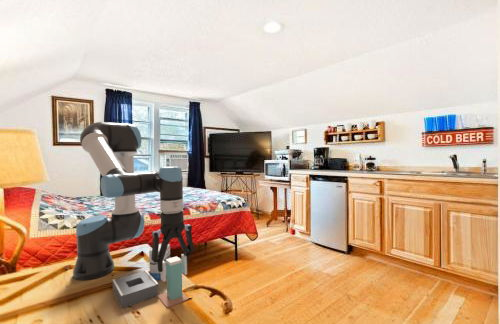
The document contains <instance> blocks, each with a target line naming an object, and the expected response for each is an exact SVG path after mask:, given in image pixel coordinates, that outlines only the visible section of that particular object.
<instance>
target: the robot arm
mask: <svg viewBox="0 0 500 324" xmlns="http://www.w3.org/2000/svg"><path fill="white" fill-rule="evenodd" d="M79 141H80V145H81V147H82V149H83V151H84V152H86V153H88V154H89V156H90V157H91V159H92V161H93V163H94V164H95V166H96V167H97V169H98V171H99V172H100V175H101V176H102V177H101V179H100V183H99V184H100V185H99V186H100V190H101V194H102V196H103V197H105V198H114V209H113V210H112V211H111V216H110V217H108V215H107V214H100V215H94V216H93V215H92V216H90V217H86V218H84V219H82V220H80V221H79V222H78V223H77V224H76V230H75V231H76V232H75V236H76V252H77V254H76V255H77V257H76V260H75V265H74V267H73V270H72V275H73V279H75V280H77V281H79V280H80V281H85V280H87V281H88V280H93V279H98V278H101V277H104V276H106V275H108V274H110V273H111V272H113V270H114V269H115V262H114V260H113V257H112V255H111V253H110V247H109V246H110V245H113V244H117V243H120V242H124V241H128V240H133V239H136V238H139V237H141V235H142V234H143V233H144V229H145V224H146V223H145V216H144V214H143V213H142V212H141V211H140V209H139V208H138V207H137V206H136V195H144V194H149V193H150V194H151V193H159V197H160V198H159V199H160V200H159V201H160V203H159V206H160V227H159V229H157V230H156V231H155V230H152V231H151V235H152V246H151V249H152V258H151V259H152V261H153V262H155V263H156V262H157V264H158V271H159V272H161V280H160V281H162V282H164V283H165V282H167V278H166V271H165V262H164V261H163V259H164V256H165V253H166V249H167V246H168V244H169V243H170V242H171V240H172V239H177V241H178V243H179V245H180V247H181V250H182V252H183V253H181V256H180V258H181V260H182V275H183V274H184V276H185V275H188V265H189V263H190V256H191V253H194V251H195V250H194V242H193V236H192V235H193V234H192V230H193V225H191V224H189V223H187V224H185V223H184V221H185V220H184V217H185V216H184V211H183V210H184V190H183V187H184V185H183V177H184V176H183V169H182V168H181V167H180V166H176V165H175V166H172V165H171V166H162V167H160V168H159V169H158V170H151V171H146V172H145V171H144V172H135V161H134V159H135V155H136V154H137V152H138V149H140V148H141V146H142V145H141V144H142V136H141V132H140V129H139V128H138V126H137V125H135V124H131V123H123V122H121V123H120V122H107V121H105V122H104V121H99V122H94V123H90V124H89V125H87V126H86V127H85V128H84V129H83V130H82V132H81V133H80V136H79ZM183 231H185V237H186V238H185V239H186V241H185V239H184V237H183V233H182V232H183ZM161 234H162V235H163V236H162V241H161V243H160V236H161ZM159 244H161V247H160V251H159V254H158V248H159Z"/></svg>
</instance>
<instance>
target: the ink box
mask: <svg viewBox="0 0 500 324" xmlns="http://www.w3.org/2000/svg"><path fill="white" fill-rule="evenodd" d="M161 244H162V243H159V248H158V254H159V251H160V247H161ZM148 254H149V257H148V258H149V260H148V261H149V274H150V275H151V276H152V277H153V278H154V279H155V280H156V281H162V280H161V272H159V271H158V264H157V262H156V263H155V262H153V261H152V259H151V258H152V248H151V249H149V252H148ZM168 258H171V244H169V243H168V246H167V249H166V253H165V256H164V259H163V261H164V262H165V271H166V259H168Z"/></svg>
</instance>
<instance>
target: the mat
mask: <svg viewBox="0 0 500 324" xmlns="http://www.w3.org/2000/svg"><path fill="white" fill-rule="evenodd" d="M182 293H183V292H182ZM157 298H158V299H159V300H160V301H161V303H162V305H164V307H166V309H169V308H171V307H174V306H176V305H178V304H181V303H184V302H186V301H189V300H190V299H189V298H188V297H187V296H186V295H185V293H183V297H180V298H177V299H175V300H172V301H171V300H170V299H169V297H168V296H167V291H166V292H163V293H160V294H158V296H157ZM188 299H189V300H188Z"/></svg>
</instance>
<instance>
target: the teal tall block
mask: <svg viewBox="0 0 500 324" xmlns="http://www.w3.org/2000/svg"><path fill="white" fill-rule="evenodd" d="M182 287H183V273H182V258H181V257H178V256H177V255H176V256H173V257H170V258H168V259H166V292H167V296H168V297H169V299H170V300H171V301H172V300H175V299H177V298H180V297H183V293H182Z"/></svg>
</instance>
